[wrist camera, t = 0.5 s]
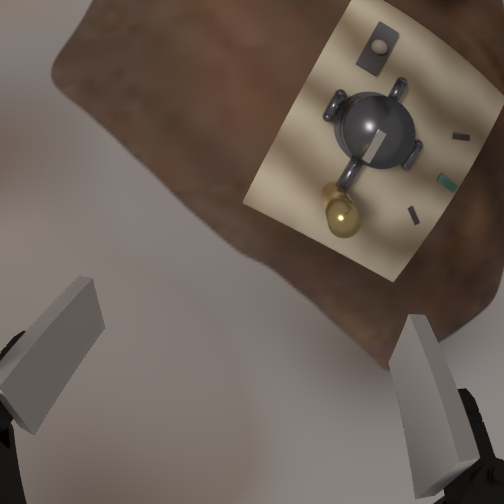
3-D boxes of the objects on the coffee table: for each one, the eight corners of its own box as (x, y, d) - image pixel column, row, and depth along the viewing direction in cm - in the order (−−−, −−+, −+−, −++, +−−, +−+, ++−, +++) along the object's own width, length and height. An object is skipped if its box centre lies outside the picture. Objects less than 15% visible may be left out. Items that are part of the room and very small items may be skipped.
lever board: (355, -7, 21) (362, -19, 18) (496, 97, 23) (514, 99, 19) (245, 196, 32) (239, 208, 29) (388, 272, 34) (396, 290, 30)
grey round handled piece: (356, 50, 22) (376, 35, 16) (439, 107, 23) (478, 112, 16) (284, 182, 28) (280, 207, 22) (367, 227, 29) (384, 263, 23)
